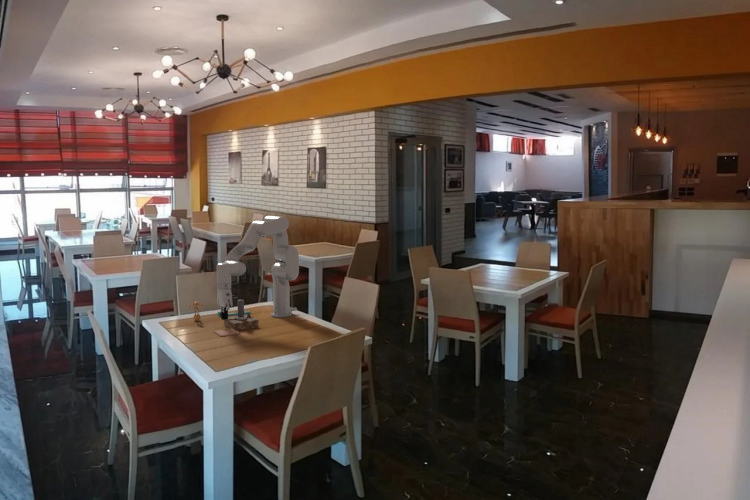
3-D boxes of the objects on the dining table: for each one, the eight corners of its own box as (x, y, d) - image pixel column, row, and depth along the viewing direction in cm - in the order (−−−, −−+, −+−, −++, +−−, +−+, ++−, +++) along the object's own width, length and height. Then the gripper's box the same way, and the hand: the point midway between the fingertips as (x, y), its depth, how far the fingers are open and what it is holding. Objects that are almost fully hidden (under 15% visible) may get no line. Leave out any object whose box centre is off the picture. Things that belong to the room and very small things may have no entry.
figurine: (205, 319, 327) (204, 298, 326) (204, 322, 322) (203, 301, 320) (189, 320, 326) (189, 299, 324) (188, 322, 320) (188, 301, 318)
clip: (250, 312, 321) (250, 308, 321) (251, 313, 319) (251, 308, 319) (217, 316, 311) (217, 311, 311) (218, 317, 309) (218, 312, 309)
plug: (243, 324, 318) (243, 298, 317) (248, 326, 314) (248, 300, 312) (233, 325, 315) (233, 299, 313) (238, 328, 310) (237, 301, 308)
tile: (232, 329, 307) (231, 328, 307) (239, 333, 299) (239, 332, 299) (213, 332, 301) (213, 331, 301) (221, 336, 293) (221, 335, 293)
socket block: (247, 321, 324) (247, 312, 323) (258, 327, 313) (258, 317, 312) (223, 325, 316) (223, 315, 315) (234, 330, 304) (234, 320, 304)
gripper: (236, 287, 303) (237, 321, 306) (224, 282, 315) (225, 315, 317) (223, 288, 299) (223, 323, 301) (211, 284, 310) (212, 317, 313)
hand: (224, 319), depth 309 cm, fingers closed
